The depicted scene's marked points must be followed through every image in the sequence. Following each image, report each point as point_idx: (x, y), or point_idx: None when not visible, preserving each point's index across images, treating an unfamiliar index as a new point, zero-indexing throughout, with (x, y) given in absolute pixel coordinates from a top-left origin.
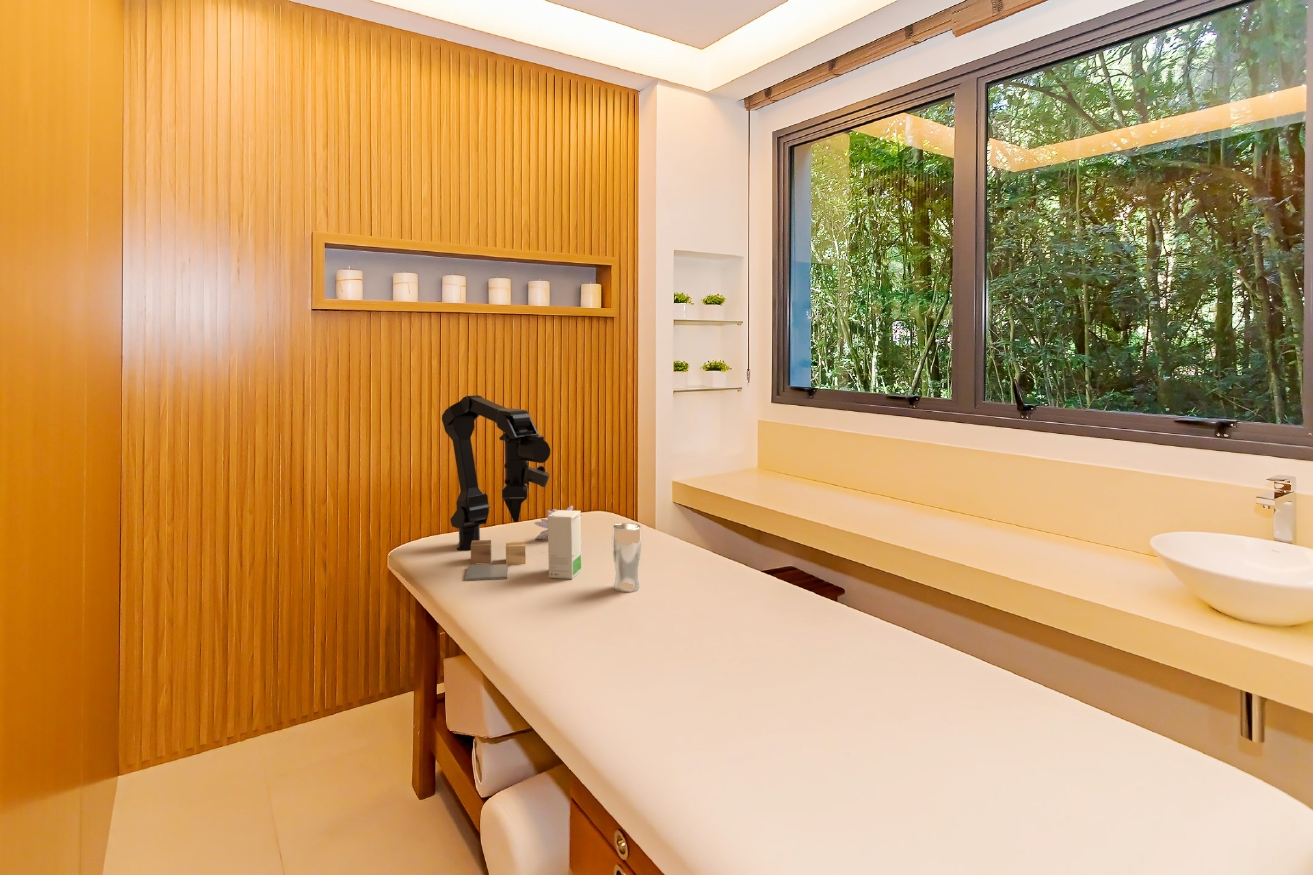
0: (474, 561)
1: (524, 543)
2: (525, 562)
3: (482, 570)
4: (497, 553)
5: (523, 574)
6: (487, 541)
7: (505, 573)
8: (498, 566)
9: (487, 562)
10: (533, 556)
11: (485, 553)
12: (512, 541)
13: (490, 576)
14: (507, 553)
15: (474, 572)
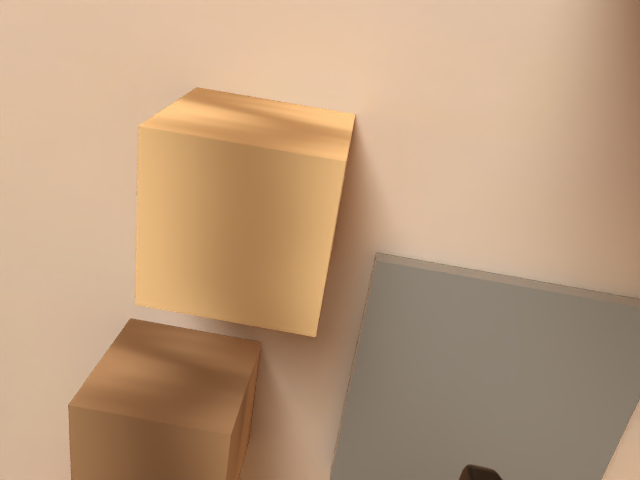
0: (248, 437)
1: (252, 154)
2: (353, 117)
3: (461, 426)
4: (33, 267)
5: (630, 179)
6: (115, 435)
7: (603, 312)
8: (412, 327)
9: (257, 363)
10: (154, 7)
11: (242, 417)
12: (153, 254)
13: (620, 405)
14: (324, 289)
15: None
